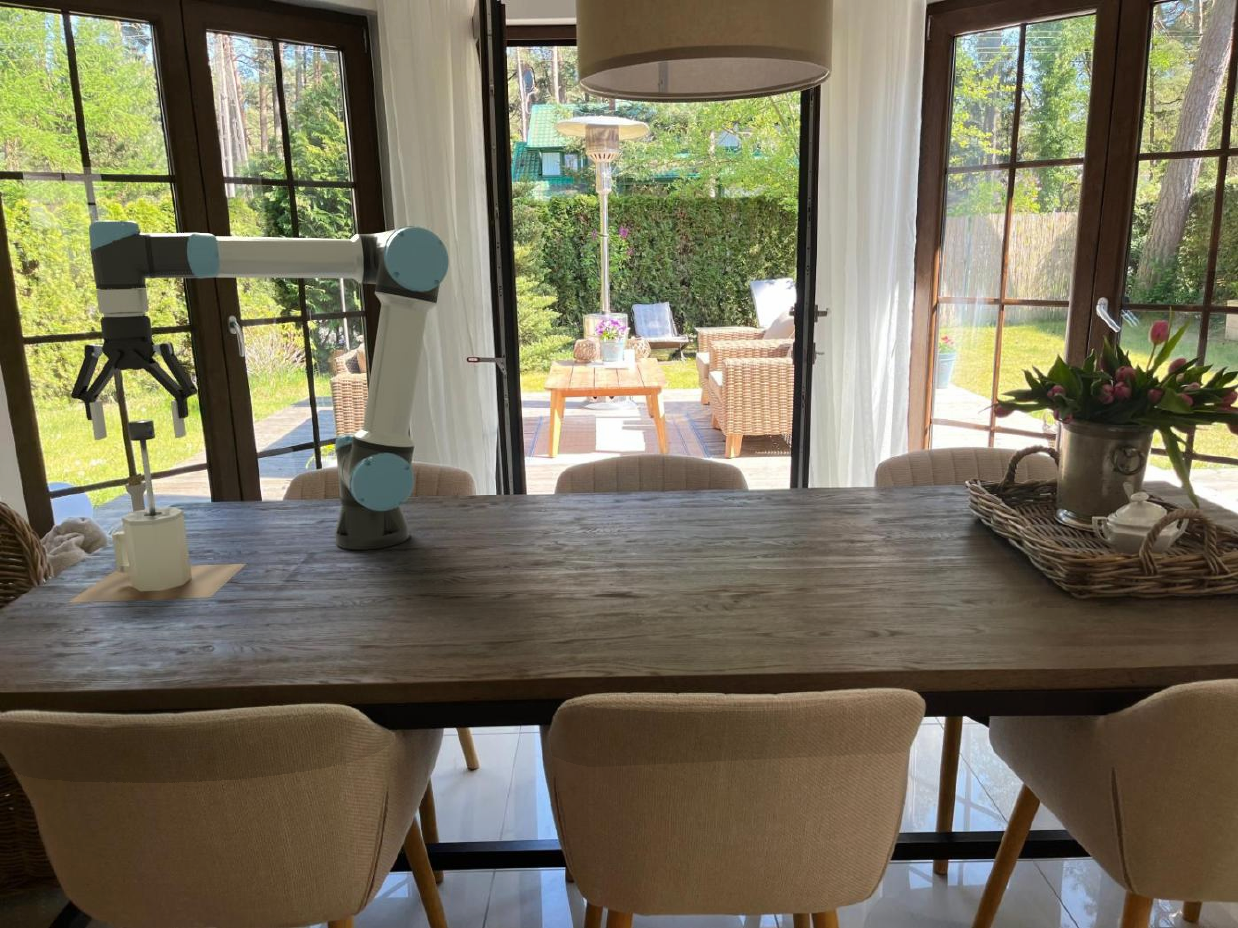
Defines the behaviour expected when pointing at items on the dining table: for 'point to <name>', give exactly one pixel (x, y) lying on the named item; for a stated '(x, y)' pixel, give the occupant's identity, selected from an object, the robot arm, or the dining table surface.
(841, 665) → the dining table surface
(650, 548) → the dining table surface
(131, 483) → the potion bottle
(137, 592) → the board
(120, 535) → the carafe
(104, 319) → the robot arm
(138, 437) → the plunger
